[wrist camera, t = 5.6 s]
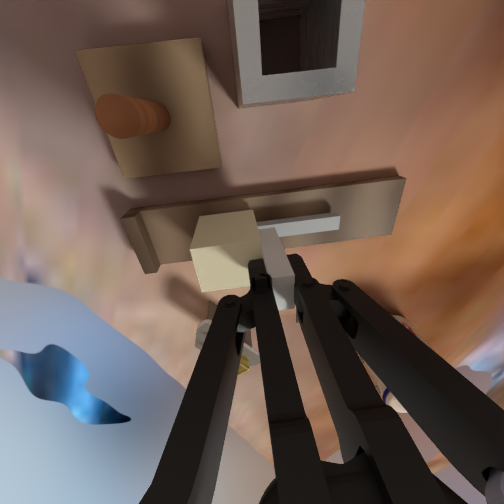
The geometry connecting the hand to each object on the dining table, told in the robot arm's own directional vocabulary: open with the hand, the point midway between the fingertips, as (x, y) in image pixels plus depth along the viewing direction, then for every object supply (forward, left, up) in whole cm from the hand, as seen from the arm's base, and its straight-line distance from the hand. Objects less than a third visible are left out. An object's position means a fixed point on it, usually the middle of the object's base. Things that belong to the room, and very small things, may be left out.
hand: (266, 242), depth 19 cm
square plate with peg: (+7, -10, -5) cm, 13 cm away
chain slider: (-1, 0, -3) cm, 3 cm away
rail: (-2, 0, -5) cm, 5 cm away
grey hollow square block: (-2, -13, -5) cm, 14 cm away
